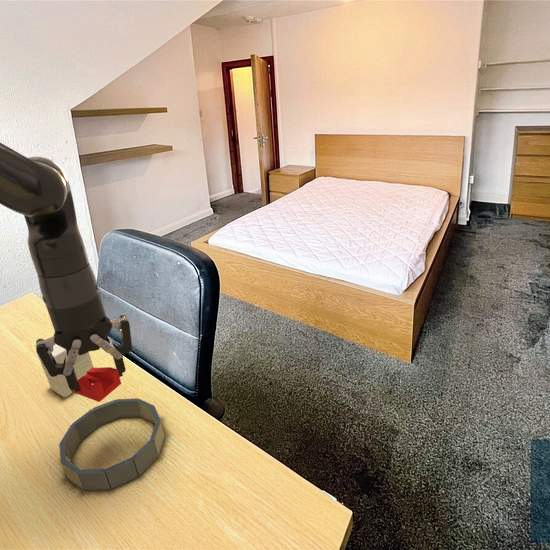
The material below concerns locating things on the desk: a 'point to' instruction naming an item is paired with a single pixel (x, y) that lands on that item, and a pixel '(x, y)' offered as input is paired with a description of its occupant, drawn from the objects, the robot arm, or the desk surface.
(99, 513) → the desk surface
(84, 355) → the small box
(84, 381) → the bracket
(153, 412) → the grey segmented ring
